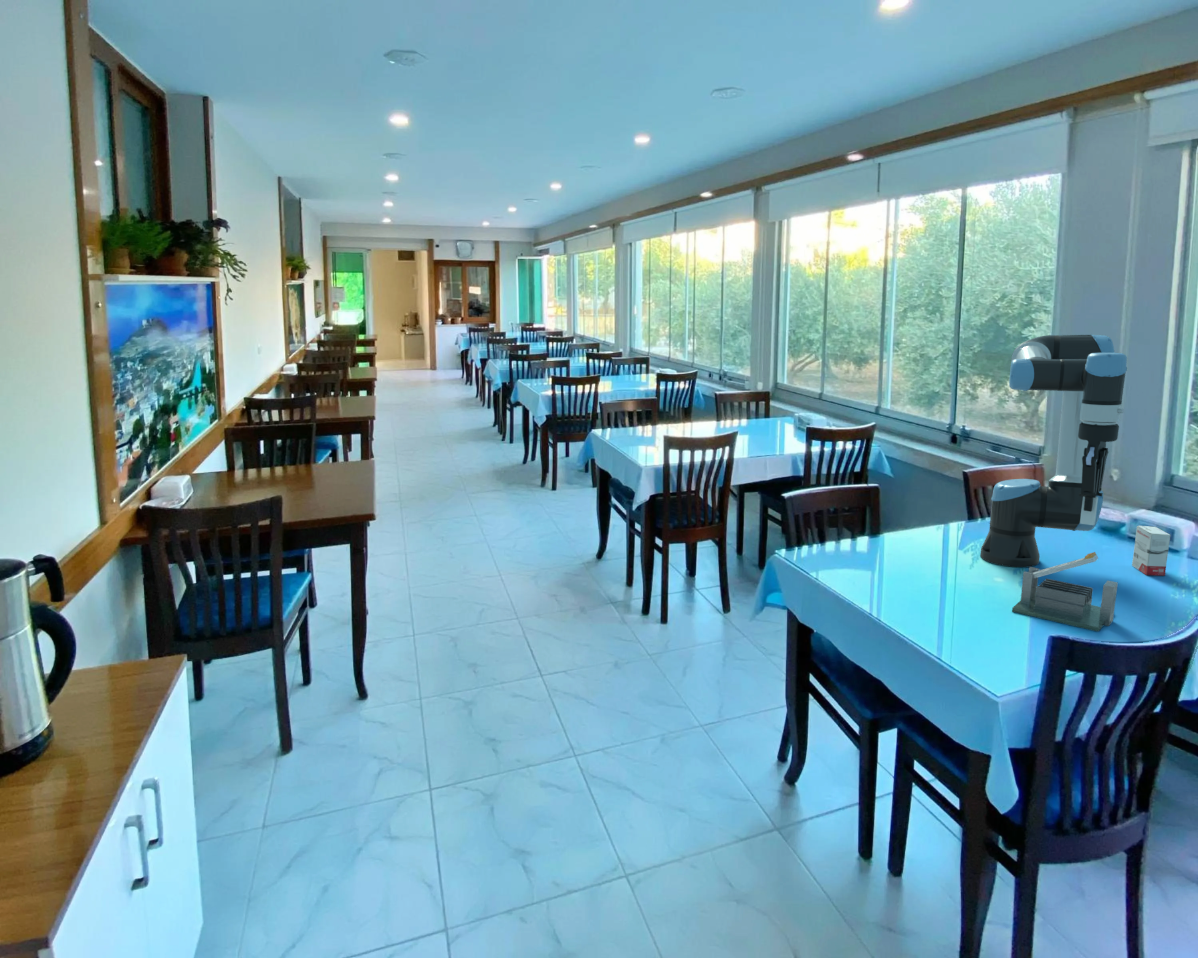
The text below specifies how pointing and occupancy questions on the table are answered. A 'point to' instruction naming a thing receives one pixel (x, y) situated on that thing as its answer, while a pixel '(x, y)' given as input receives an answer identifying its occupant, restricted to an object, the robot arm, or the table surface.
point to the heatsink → (1066, 602)
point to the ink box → (1151, 550)
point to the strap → (1066, 565)
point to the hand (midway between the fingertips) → (1087, 523)
